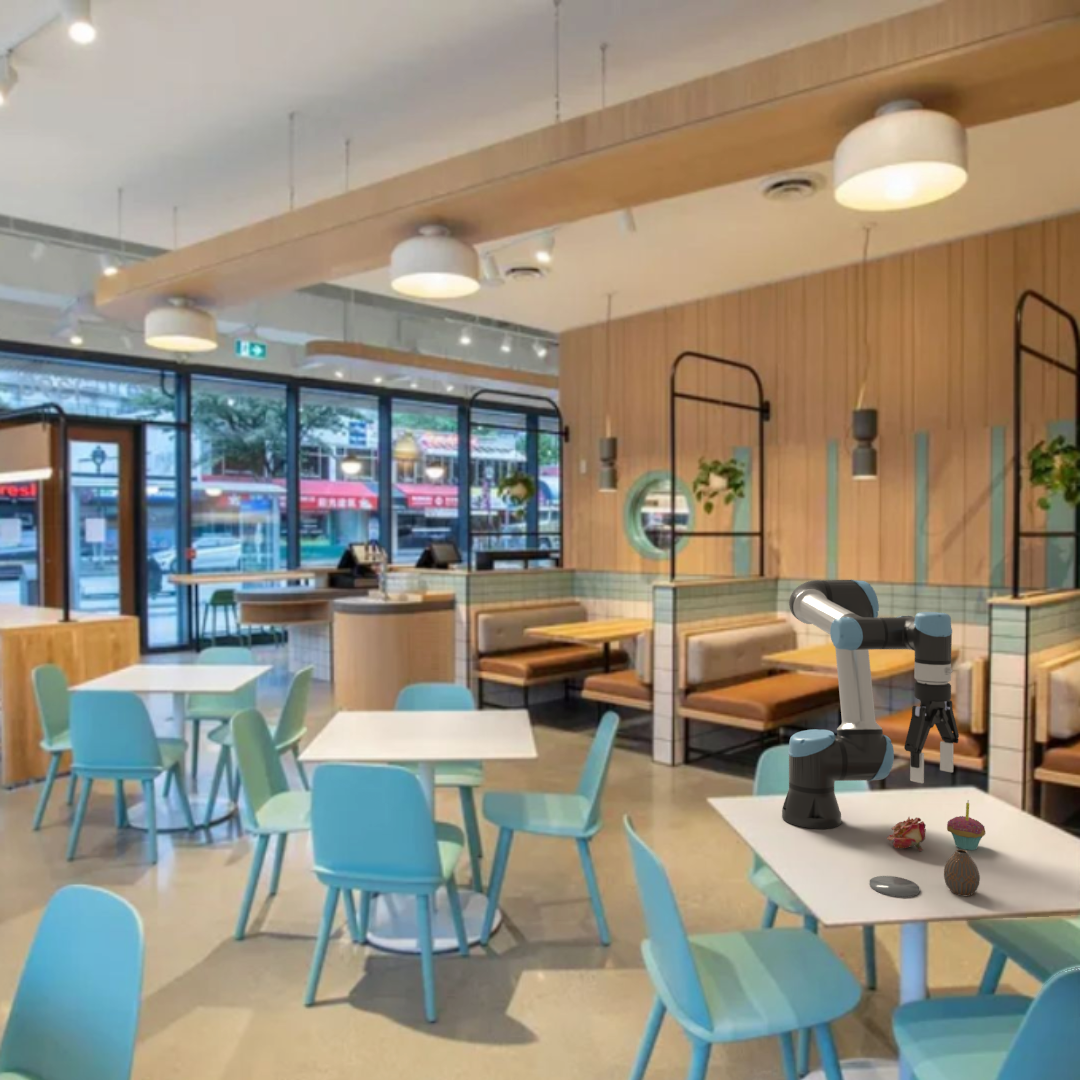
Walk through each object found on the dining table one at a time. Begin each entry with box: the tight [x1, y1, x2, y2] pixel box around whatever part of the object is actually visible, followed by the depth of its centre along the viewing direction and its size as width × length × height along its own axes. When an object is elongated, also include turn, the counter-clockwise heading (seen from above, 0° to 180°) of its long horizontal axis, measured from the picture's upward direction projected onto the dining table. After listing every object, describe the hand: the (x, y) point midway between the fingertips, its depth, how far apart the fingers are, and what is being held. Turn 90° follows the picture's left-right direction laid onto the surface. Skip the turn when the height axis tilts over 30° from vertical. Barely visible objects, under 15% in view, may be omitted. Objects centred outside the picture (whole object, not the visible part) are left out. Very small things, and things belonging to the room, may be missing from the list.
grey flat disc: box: [869, 875, 920, 898], centre depth 190 cm, size 10×10×1 cm
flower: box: [886, 816, 927, 852], centre depth 213 cm, size 10×9×8 cm
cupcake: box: [946, 800, 986, 851], centre depth 215 cm, size 9×8×12 cm
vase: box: [943, 848, 981, 897], centre depth 188 cm, size 7×7×9 cm
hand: (932, 776), depth 197 cm, fingers open, 13 cm apart
